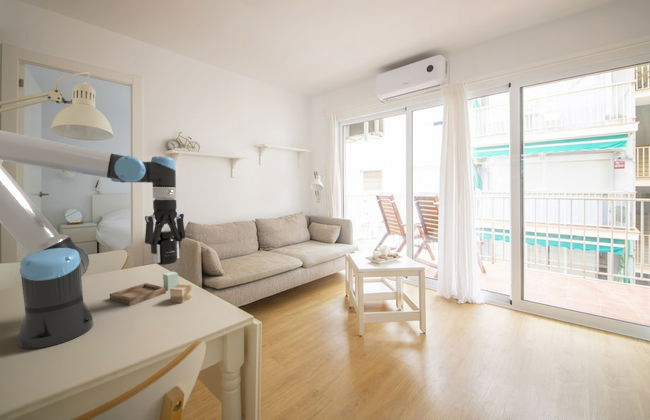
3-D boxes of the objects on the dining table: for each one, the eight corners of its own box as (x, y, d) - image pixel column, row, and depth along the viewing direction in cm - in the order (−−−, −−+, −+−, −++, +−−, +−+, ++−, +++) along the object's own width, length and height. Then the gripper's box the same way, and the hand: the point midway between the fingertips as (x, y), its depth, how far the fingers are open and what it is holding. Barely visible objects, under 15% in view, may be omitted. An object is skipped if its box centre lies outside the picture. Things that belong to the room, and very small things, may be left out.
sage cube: (168, 290, 110) (167, 275, 110) (163, 288, 113) (163, 273, 112) (178, 287, 113) (177, 273, 113) (174, 285, 116) (173, 271, 115)
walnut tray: (130, 305, 96) (129, 300, 96) (110, 299, 102) (109, 294, 102) (166, 292, 107) (165, 287, 107) (146, 287, 113) (145, 282, 113)
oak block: (182, 303, 98) (182, 289, 97) (170, 302, 99) (170, 288, 98) (192, 297, 103) (191, 284, 102) (180, 296, 104) (180, 283, 103)
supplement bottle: (171, 264, 100) (168, 232, 100) (152, 265, 101) (150, 232, 100) (181, 260, 107) (179, 229, 106) (164, 260, 107) (161, 230, 107)
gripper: (143, 200, 92) (145, 267, 93) (194, 198, 109) (196, 255, 111) (130, 199, 95) (133, 264, 97) (182, 198, 113) (184, 253, 114)
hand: (166, 259), depth 104 cm, fingers closed on supplement bottle, 7 cm apart
